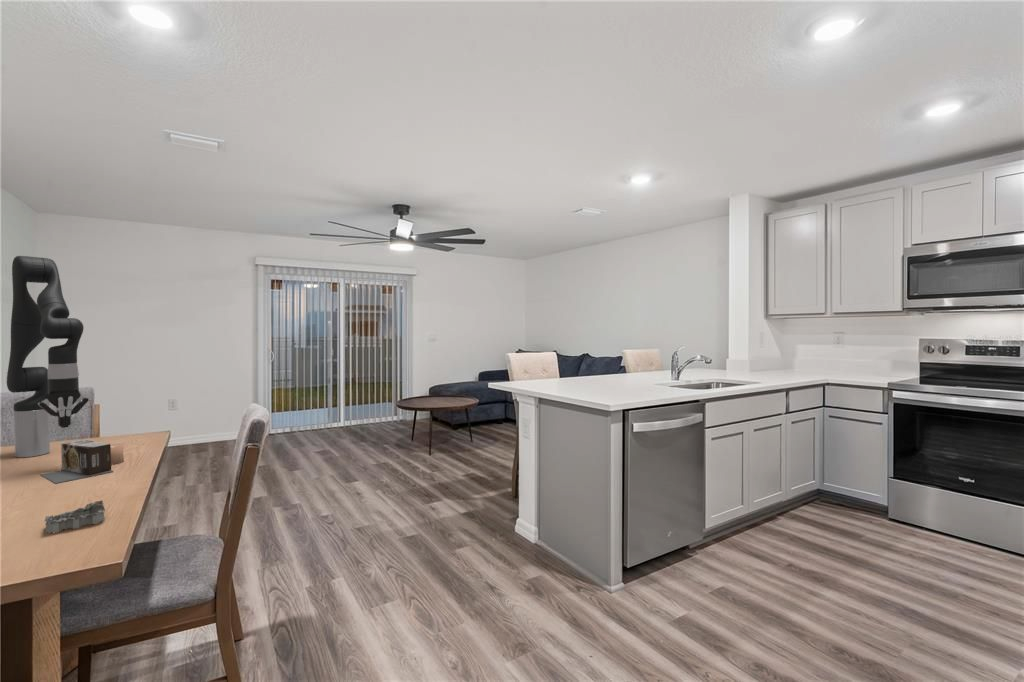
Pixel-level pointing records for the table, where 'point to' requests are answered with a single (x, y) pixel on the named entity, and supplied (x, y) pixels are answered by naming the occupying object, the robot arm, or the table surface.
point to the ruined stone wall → (76, 517)
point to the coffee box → (86, 457)
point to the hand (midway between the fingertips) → (64, 427)
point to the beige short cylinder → (117, 453)
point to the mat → (67, 476)
